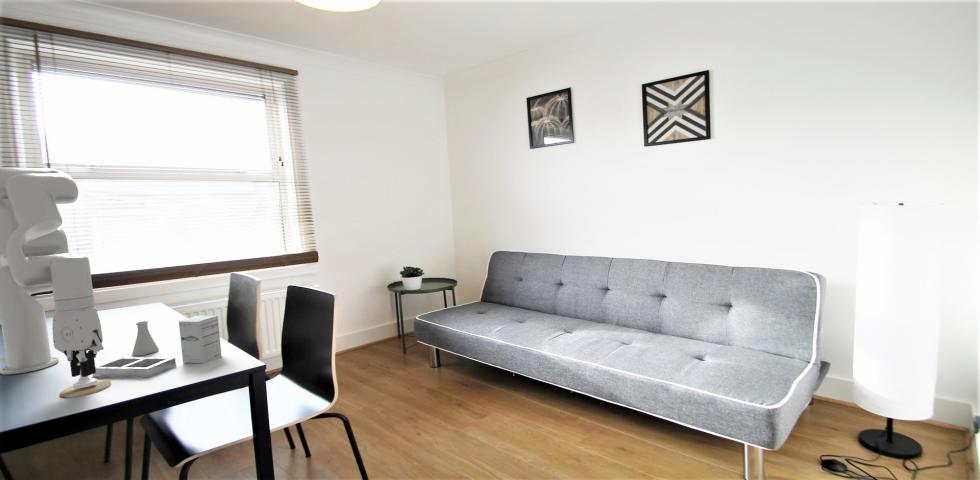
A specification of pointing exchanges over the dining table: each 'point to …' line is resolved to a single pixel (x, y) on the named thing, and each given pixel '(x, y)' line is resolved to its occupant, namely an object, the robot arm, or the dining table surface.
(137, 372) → the divided tray
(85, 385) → the chess piece
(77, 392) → the coaster
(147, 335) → the flask
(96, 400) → the dining table surface
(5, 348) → the robot arm
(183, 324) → the supplement box
